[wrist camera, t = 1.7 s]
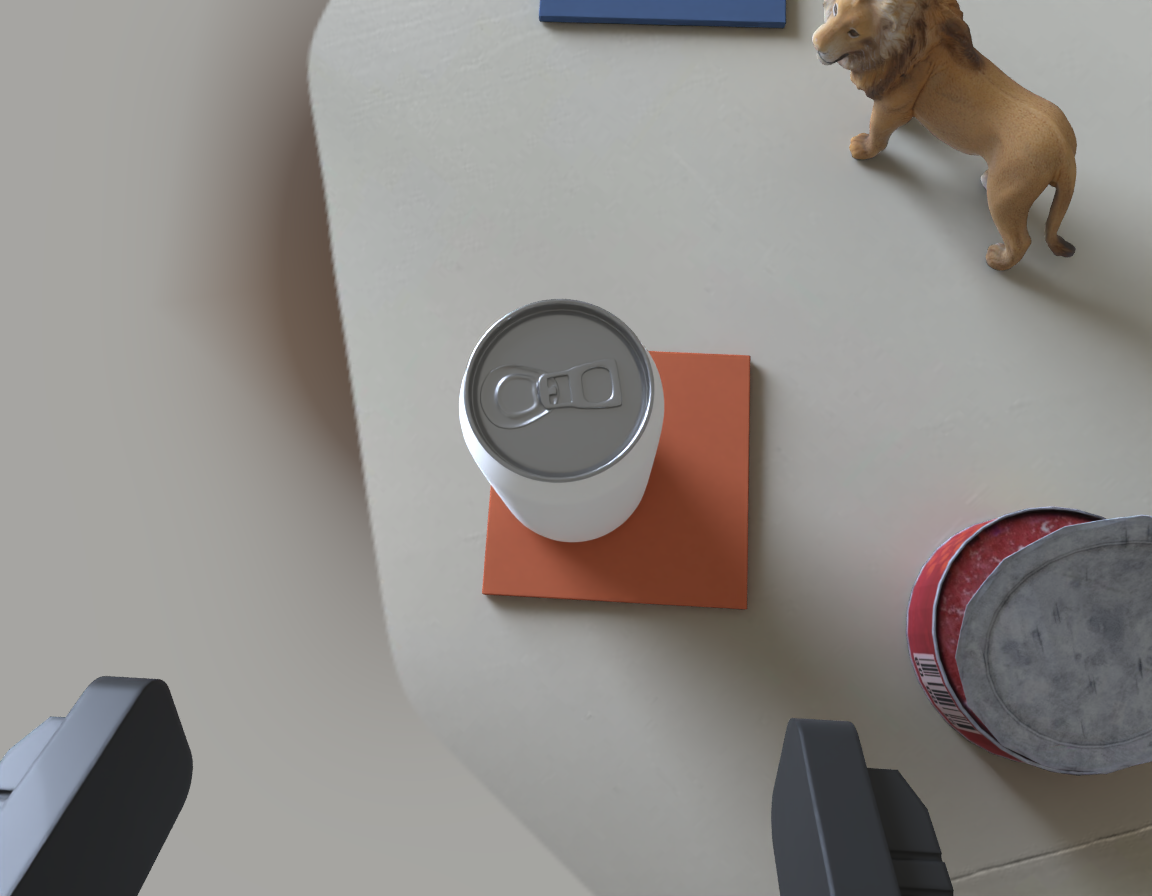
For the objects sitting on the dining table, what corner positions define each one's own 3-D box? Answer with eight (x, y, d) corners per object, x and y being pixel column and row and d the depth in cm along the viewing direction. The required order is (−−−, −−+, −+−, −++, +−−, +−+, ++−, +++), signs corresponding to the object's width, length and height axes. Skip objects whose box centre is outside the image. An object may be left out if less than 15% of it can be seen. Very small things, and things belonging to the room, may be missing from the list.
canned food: (1091, 624, 39) (1348, 706, 30) (942, 770, 37) (1169, 909, 28) (995, 425, 36) (1247, 447, 27) (825, 572, 34) (1037, 652, 25)
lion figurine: (762, 131, 40) (806, -11, 32) (825, 51, 41) (885, -109, 32) (1038, 302, 38) (1167, 200, 29) (1097, 213, 39) (1241, 89, 30)
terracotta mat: (483, 594, 36) (482, 593, 36) (503, 347, 38) (502, 344, 38) (745, 609, 35) (747, 609, 35) (749, 358, 38) (750, 355, 38)
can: (490, 407, 37) (438, 300, 26) (636, 387, 37) (652, 271, 26) (506, 553, 36) (459, 511, 24) (659, 533, 36) (685, 481, 24)
